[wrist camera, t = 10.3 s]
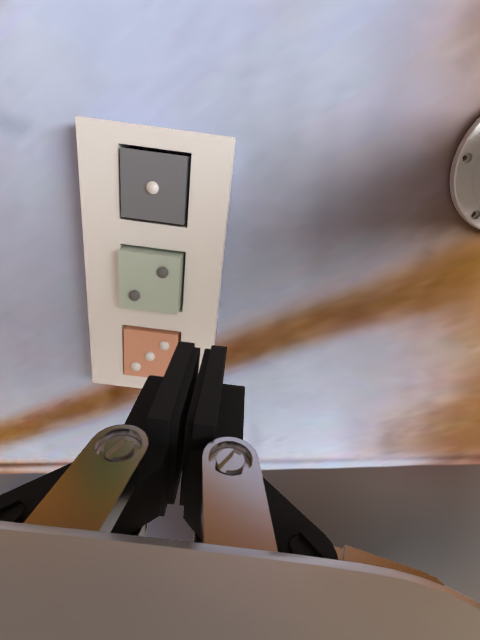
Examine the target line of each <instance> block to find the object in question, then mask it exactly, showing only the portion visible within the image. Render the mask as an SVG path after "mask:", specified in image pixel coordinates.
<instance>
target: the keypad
mask: <svg viewBox="0 0 480 640" xmlns="http://www.w3.org/2000/svg"><path fill="white" fill-rule="evenodd" d="M75 123H76V138H77V153H78V168H79V183H80V198H81V214H82V229H83V244H84V259H85V274H86V289H87V304H88V319H89V334H90V349H91V364H92V380H93V383H100V384H108V385H117V386H125V387H133V388H143V386H144V384H145V382H146V380H147V378H148V377H140V376H132V375H124V330H123V329H124V328H125V326H126V325H130V326H138V327H146V328H154V329H162V330H170V331H178V332H181V341H183V342H191V343H195V347H198V348H200V360H199V369H200V365H201V362H202V358H203V354H204V350H205V348H206V349H211V346H212V345H215V339H216V330H217V320H218V310H219V301H220V291H221V281H222V272H223V262H224V253H225V243H226V233H227V224H228V214H229V205H230V195H231V185H232V176H233V166H234V157H235V147H236V139H235V137H228V136H221V135H213V134H206V133H199V132H191V131H184V130H176V129H169V128H162V127H154V126H147V125H139V124H132V123H125V122H117V121H110V120H102V119H95V118H88V117H80V116H75ZM129 145H132V146H140V147H147V148H155V149H162V150H170V151H177V152H185V153H192V155H191V172H190V190H189V207H188V222H186V223H185V224H184V225H180V224H173V223H165V222H157V221H149V220H142V219H134V218H126V217H121V180H120V147H122V148H129ZM126 245H135V246H143V247H150V248H158V249H166V250H174V251H182V252H186V259H185V277H184V294H183V301H182V306H181V308H180V310H179V312H178V314H177V315H175V314H167V313H159V312H151V311H143V310H135V309H127V308H119V273H118V250H119V249H121V248H122V247H124V246H126ZM198 373H199V372H198Z"/></svg>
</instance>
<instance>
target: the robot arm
mask: <svg viewBox="0 0 480 640" xmlns="http://www.w3.org/2000/svg"><path fill="white" fill-rule="evenodd" d="M463 156H465V158H464V160H463ZM450 192H451V198H452V201H453V203H454V206H455V208H456V210H457V212H458V213H459V214H460V216H461V217H462V218H463V219H464V220H465V221H466V222H467V223H469V224H470V225H471V226H473V227H475V228H477V229H479V230H480V117H479V118H478V119H477V120H476V121H475V122H474V123H473V125H472V126H471V127H470V129H469V130H468V131H467V132H466V134H465V136H464V137H463V139H462V141H461V143H460V144H459V146H458V148H457V151H456V154H455V156H454V159H453V162H452V167H451V172H450ZM472 213H473V214H472ZM471 214H472V215H471ZM226 352H227V347H223V346H215V345H212V346H211V349H206V348H205V350H204V354H203V358H202V362H201V365H200V369H199V360H200V348H198V347H195V343H191V342H183V341H179V342H178V344H177V346H176V349H175V351H174V353H173V356H172V358H171V361H170V363H169V365H168V368H167V370H166V372H165V375H164V377H162V376H154V375H150V376H148V378H147V380H146V382H145V384H144V386H143V388H142V390H141V392H140V394H139V396H138V398H137V400H136V402H135V404H134V406H133V408H132V410H131V412H130V414H129V416H128V418H127V420H126V422H125V424H123V425H114V426H111V427H108V428H106V429H104V430H102V431H100V432H99V433H97V434H96V435H95V436H94V437H93V438H92V439H91V441H90V442H89V443H88V444H87V446H86V447H85V448H84V449H83V450H82V452H81V453H80V454H79V455H78V457H77V458H76V459H75V460H74V461H73V462H72V463H70V464H68V465H66V466H64V467H61V468H59V469H57V470H55V471H53V472H50V473H48V474H46V475H44V476H42V477H39V478H37V479H35V480H33V481H31V482H29V483H26V484H24V485H22V486H20V487H17V488H15V489H13V490H11V491H9V492H7V493H4V494H2V495H0V640H480V603H478V602H476V601H475V600H473V599H471V598H469V597H467V596H465V595H463V594H461V593H458V592H456V591H455V590H452V589H451V588H449V587H447V586H445V585H444V584H442V583H441V582H440V581H439V580H438V579H437V578H435V577H433V576H431V575H429V574H427V573H425V572H422V571H419V570H416V569H414V568H411V567H408V566H405V565H402V564H399V563H396V562H393V561H390V560H388V559H384V558H382V557H379V556H376V555H373V554H370V553H367V552H364V551H362V550H358V549H356V548H353V547H350V546H347V545H345V546H344V549H341V548H338V547H335V546H333V544H332V543H331V542H330V540H329V539H328V538H327V537H326V535H325V534H324V533H323V532H321V531H320V530H319V529H318V528H317V527H316V526H315V525H314V524H313V523H312V522H311V521H309V520H308V519H307V518H306V517H305V516H304V515H303V514H302V513H301V512H300V511H299V510H297V508H296V507H294V506H293V505H292V504H291V503H290V502H289V501H288V500H287V499H286V498H285V497H284V496H283V495H282V494H280V493H279V492H278V491H277V490H276V489H275V488H274V487H273V486H272V485H271V484H270V483H269V482H268V481H266V480H265V479H264V478H263V477H262V472H261V468H260V463H259V458H258V455H257V453H256V450H255V449H254V448H253V447H252V446H251V445H250V444H249V443H247V442H246V441H244V440H243V423H244V396H245V387H244V386H236V385H228V384H223V377H224V369H225V360H226ZM198 372H199V373H198ZM181 473H182V478H181V492H180V505H183V506H184V517H183V518H184V519H185V521H186V522H187V523H188V524H189V526H190V527H191V528H192V530H193V531H194V532H195V533H194V542H187V541H179V540H170V539H161V538H152V537H144V536H145V533H146V530H147V523H149V522H150V521H152V520H153V519H155V518H156V517H158V516H164V515H165V511H166V507H167V504H174V503H175V499H176V494H177V490H178V486H179V482H180V477H181Z"/></svg>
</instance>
